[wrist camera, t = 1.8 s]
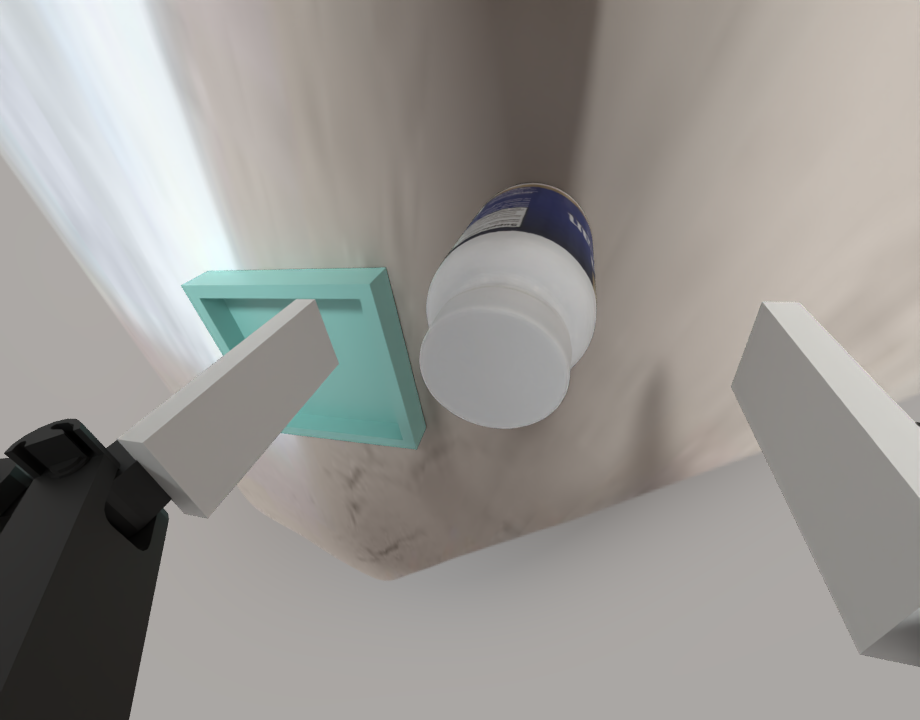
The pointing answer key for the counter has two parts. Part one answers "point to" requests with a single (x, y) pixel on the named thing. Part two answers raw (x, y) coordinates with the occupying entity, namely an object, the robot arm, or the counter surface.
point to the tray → (353, 339)
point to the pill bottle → (511, 309)
